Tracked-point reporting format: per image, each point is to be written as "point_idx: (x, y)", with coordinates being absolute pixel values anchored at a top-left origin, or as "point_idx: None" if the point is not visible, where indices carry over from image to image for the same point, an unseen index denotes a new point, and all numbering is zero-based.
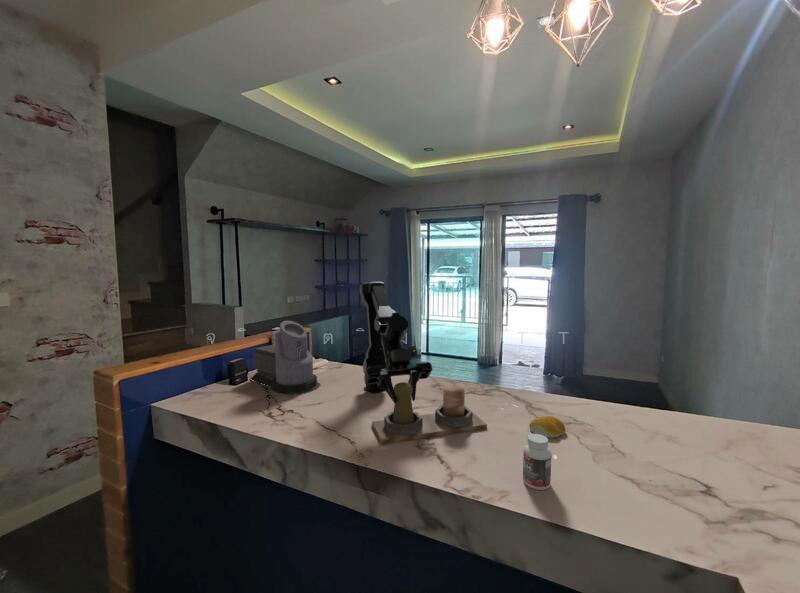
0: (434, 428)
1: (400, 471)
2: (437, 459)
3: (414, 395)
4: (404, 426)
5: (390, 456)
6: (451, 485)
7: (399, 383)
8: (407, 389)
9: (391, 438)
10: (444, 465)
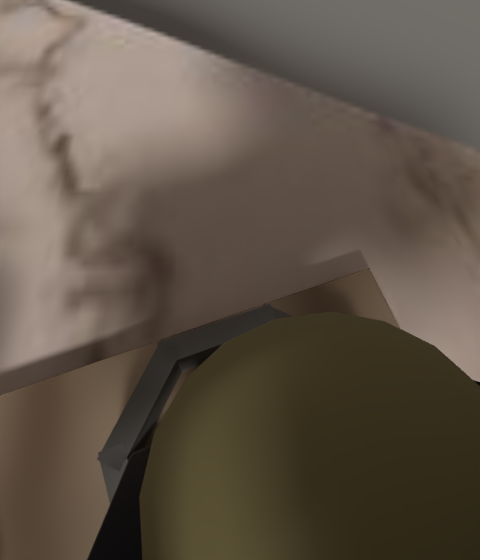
0: (27, 439)
1: (241, 88)
2: (78, 162)
3: (129, 486)
4: (245, 313)
5: (295, 179)
6: (57, 23)
7: (475, 551)
8: (244, 339)
9: (315, 287)
10: (56, 123)
